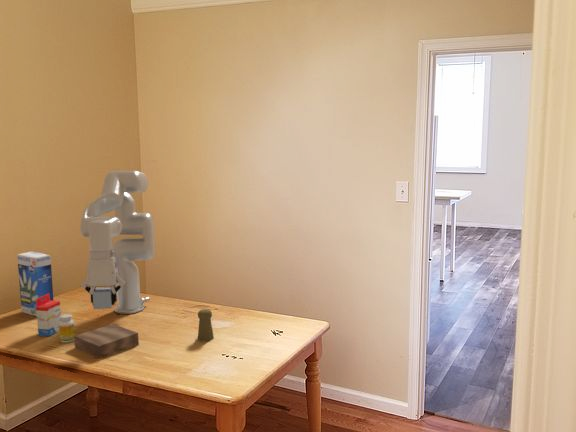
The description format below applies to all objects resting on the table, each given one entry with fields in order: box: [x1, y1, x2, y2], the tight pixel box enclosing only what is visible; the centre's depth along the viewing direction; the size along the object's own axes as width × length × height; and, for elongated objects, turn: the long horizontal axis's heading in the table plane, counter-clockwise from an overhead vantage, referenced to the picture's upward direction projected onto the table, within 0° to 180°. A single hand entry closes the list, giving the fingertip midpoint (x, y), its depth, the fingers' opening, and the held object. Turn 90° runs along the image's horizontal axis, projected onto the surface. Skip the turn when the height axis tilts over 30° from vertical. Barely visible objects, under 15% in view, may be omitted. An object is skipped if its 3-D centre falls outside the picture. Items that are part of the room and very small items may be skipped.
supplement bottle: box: [58, 313, 76, 344], centre depth 213 cm, size 5×5×10 cm
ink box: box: [36, 293, 62, 337], centre depth 221 cm, size 8×5×15 cm, turn 168°
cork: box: [197, 308, 215, 342], centre depth 214 cm, size 6×6×11 cm
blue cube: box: [92, 287, 114, 310], centre depth 204 cm, size 6×6×6 cm
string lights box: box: [16, 251, 54, 317], centre depth 245 cm, size 13×8×26 cm, turn 58°
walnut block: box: [74, 323, 140, 360], centre depth 207 cm, size 16×16×5 cm
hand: (104, 303), depth 205 cm, fingers closed on blue cube, 6 cm apart
